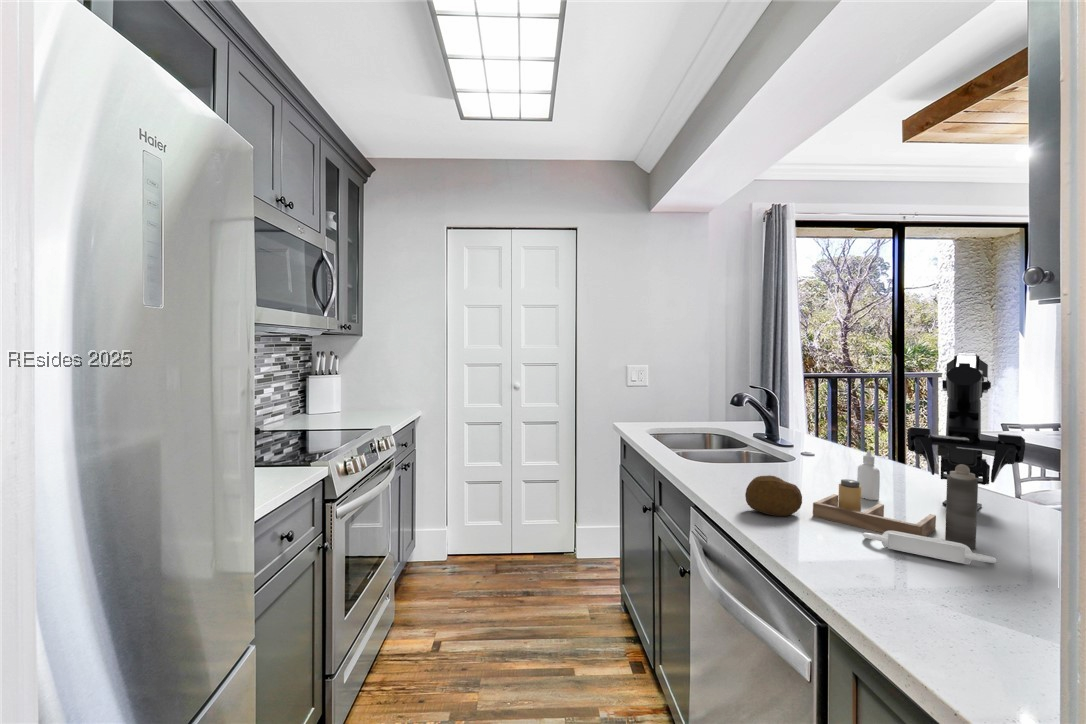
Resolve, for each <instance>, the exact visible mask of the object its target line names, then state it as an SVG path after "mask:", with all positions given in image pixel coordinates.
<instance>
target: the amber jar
mask: <svg viewBox="0 0 1086 724" xmlns="http://www.w3.org/2000/svg"><path fill="white" fill-rule="evenodd" d="M859 485H860V482H858V481H857V480H855V479H848V478H847V479H845V478H844V479H840V482H839V483H838V507H841V508H845V509H850V510H854V511H859V512H862V497H861V489H862V487H861V486H859Z"/></svg>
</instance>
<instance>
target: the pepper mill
mask: <svg viewBox="0 0 1086 724" xmlns="http://www.w3.org/2000/svg"><path fill="white" fill-rule="evenodd" d="M977 489H978V490H979V484H978V480H977V479H975V474H973V473H970V469H969V467H968V466H966V465H963V464H960V465H957V466H956V468H955V471H950V476H947V480H946V499H945V500H946V505H945V535H944V536H945V537H944V540H946V541H951V542H957V543H961V544H964V545H966V546H968V547H969V548H970V549H971V551H975V550H976V549H977V546H976V545H977V520H978V519H977V518H978V517H977V516H978V515H977V512H978V510H977V503H978V502H977Z"/></svg>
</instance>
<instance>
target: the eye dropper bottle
mask: <svg viewBox="0 0 1086 724" xmlns="http://www.w3.org/2000/svg"><path fill="white" fill-rule="evenodd" d="M862 459H863V460H862V463H863V464H862V463H861V464H860V465H858V466H857V474H856V475H857V480H856V481H858V482H860V485H859V486H861V487H862V489H861V499H864V498H865V499H864V500H867V501H879V500H880V487H881V486H880V484H881V481H880V480H881V479H880V478H881V476H880V475H881V473H880V470H879V468H878V467H877V466H876V465H875V456H874V455H872V452H871V450H866V454H864V455H863V456H862Z"/></svg>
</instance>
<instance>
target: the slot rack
mask: <svg viewBox="0 0 1086 724" xmlns="http://www.w3.org/2000/svg"><path fill="white" fill-rule="evenodd" d="M838 500H839V494H834V493H833V494H830V495H828V496H826V497H824V498H822V499H820V500H817V501H814V502H813V503H812V517H814V518H819V519H824V520H827V521H828V520H829V521H832V522H836V523H839V524H844V525H848V526H852V527H856V528H860V529H864V530H868V531H872V530H873V531H872V532H876V531H878V532H877V533H880V532H882V533H881V534H883V533H884V532H886V531H898V532H903V533H908V534H914V535H919V536H924V537H929V536H930V535H931V534H932V533H933V532H934V531H936V527H937V525H936V524H937V515H936V514H931V513H930V514H928V515H926V516H925V517H924V518H923V519H921V520H920V521H918V522H917V523H911V522H908V521H902V520H898V519H894V518H890V517H885V504H883V503H877V504H875V505H874V506H871V507H870V508H868V509H866V510H864V511H863V512H862V511H861V512H859V511H854V510H850V509H845V508H841V507H838Z"/></svg>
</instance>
